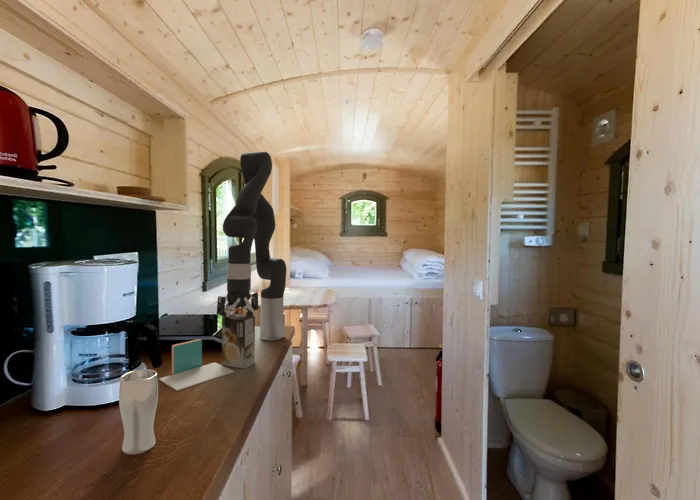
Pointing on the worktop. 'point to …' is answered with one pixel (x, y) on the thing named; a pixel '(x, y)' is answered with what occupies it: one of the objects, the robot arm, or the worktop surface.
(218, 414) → the worktop surface
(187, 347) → the tile
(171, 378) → the mat
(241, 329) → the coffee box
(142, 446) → the beer glass
